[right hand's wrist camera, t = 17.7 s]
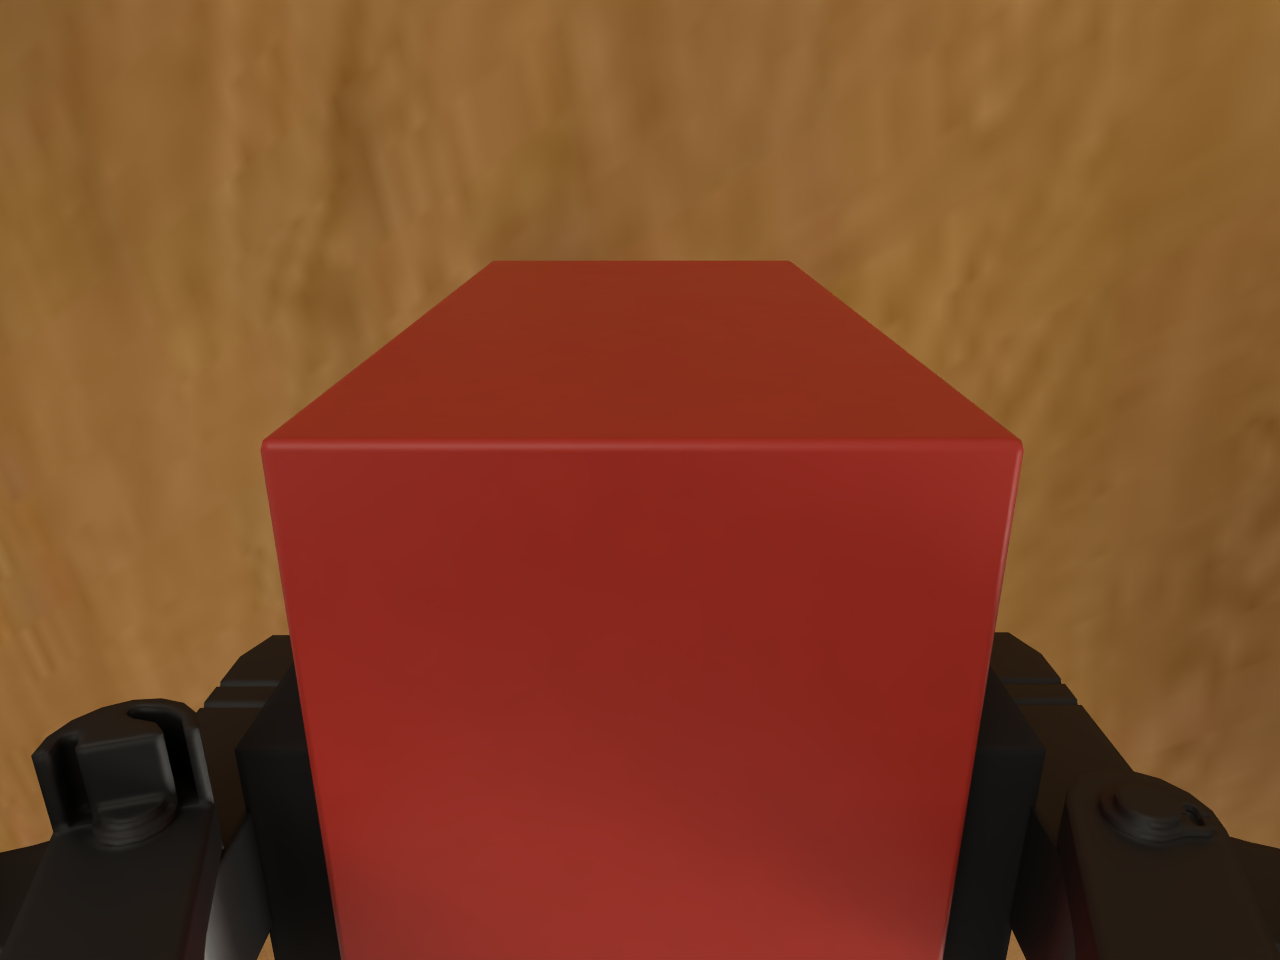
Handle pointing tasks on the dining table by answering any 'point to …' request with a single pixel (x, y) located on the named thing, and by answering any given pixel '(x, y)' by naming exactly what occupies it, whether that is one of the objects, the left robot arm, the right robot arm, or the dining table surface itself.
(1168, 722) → the dining table surface
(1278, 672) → the dining table surface
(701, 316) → the brick
